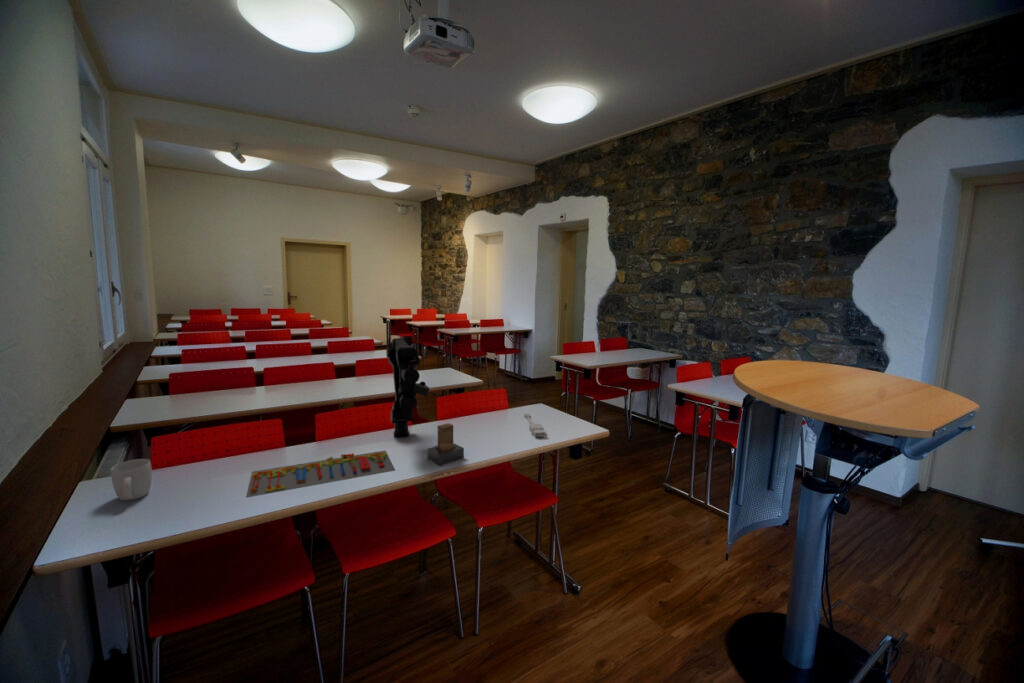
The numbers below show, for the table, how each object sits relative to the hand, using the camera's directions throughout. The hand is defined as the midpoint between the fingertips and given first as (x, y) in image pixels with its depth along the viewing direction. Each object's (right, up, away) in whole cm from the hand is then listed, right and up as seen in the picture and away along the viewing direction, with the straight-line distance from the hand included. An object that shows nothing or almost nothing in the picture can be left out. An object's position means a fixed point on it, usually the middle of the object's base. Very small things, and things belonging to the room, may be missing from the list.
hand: (407, 416), depth 167 cm
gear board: (-24, -16, -20) cm, 35 cm away
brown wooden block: (+16, -15, -8) cm, 23 cm away
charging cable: (+51, -10, +30) cm, 60 cm away
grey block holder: (+16, -14, -8) cm, 23 cm away
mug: (-73, -18, -40) cm, 85 cm away
